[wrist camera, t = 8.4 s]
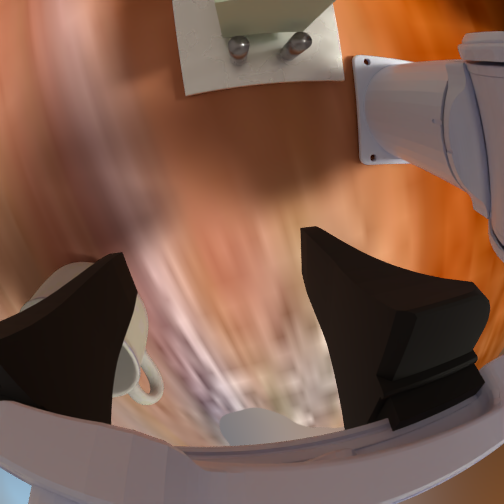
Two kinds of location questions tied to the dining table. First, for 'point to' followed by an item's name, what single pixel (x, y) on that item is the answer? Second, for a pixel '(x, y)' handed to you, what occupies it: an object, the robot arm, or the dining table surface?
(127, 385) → the teacup
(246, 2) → the pale green rectangular block
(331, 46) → the plate
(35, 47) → the dining table surface
